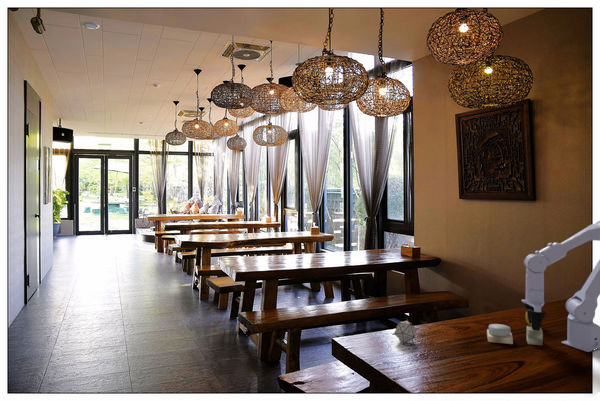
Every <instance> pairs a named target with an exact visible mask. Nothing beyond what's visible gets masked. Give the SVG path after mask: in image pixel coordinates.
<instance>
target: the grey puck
mask: <svg viewBox="0 0 600 401" xmlns="http://www.w3.org/2000/svg"><path fill="white" fill-rule="evenodd" d="M488 330H489V334H490V335H493V336H496V337H509V336H510V332H511V327H510V325H509V326H508V325H506V324H500V323H491V324H489V325H488Z"/></svg>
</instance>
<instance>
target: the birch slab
mask: <svg viewBox="0 0 600 401" xmlns="http://www.w3.org/2000/svg"><path fill="white" fill-rule="evenodd" d="M486 336H487V342H489V343H497V344H507V345H508V344H509V345H513V344H514V337H513V334H512V332H511V331H510V336H509V337H496V336H493V335H490V334H489V328H487V329H486Z"/></svg>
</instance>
